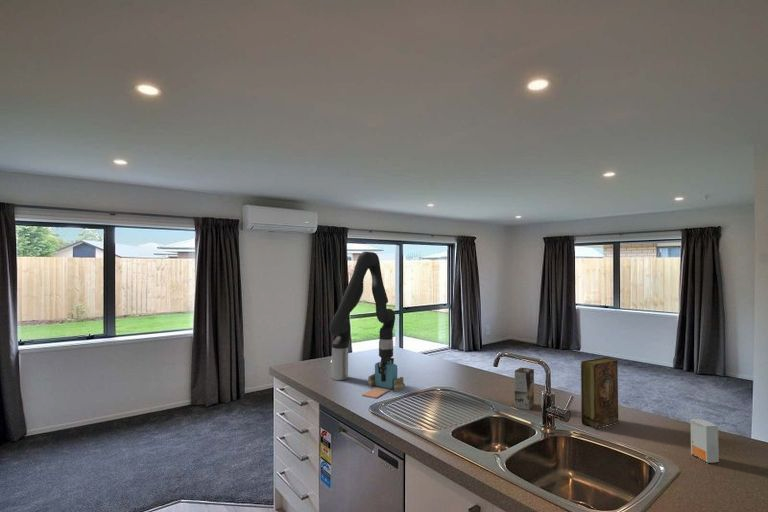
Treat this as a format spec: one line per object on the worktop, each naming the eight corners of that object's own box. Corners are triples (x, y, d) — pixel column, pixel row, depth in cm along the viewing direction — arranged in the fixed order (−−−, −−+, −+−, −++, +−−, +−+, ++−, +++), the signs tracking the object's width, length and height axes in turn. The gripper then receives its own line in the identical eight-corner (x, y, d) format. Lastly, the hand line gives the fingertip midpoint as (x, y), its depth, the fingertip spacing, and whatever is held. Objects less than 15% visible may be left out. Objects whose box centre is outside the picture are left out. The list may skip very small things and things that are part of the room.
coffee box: (529, 410, 167) (528, 373, 168) (514, 407, 171) (514, 370, 171) (534, 404, 174) (534, 368, 175) (520, 401, 178) (519, 366, 179)
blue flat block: (397, 387, 198) (397, 364, 198) (392, 389, 194) (392, 366, 195) (380, 383, 205) (380, 360, 206) (374, 385, 202) (374, 362, 202)
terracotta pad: (361, 395, 185) (361, 394, 185) (375, 388, 197) (375, 387, 197) (376, 398, 181) (376, 397, 181) (389, 390, 193) (389, 389, 193)
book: (607, 417, 159) (606, 357, 160) (620, 422, 154) (619, 359, 155) (581, 424, 152) (580, 361, 152) (594, 430, 147) (593, 364, 148)
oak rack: (368, 386, 200) (368, 376, 201) (377, 381, 209) (377, 372, 209) (396, 391, 192) (396, 381, 193) (404, 386, 201) (404, 376, 201)
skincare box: (690, 455, 127) (689, 418, 127) (702, 454, 127) (701, 418, 128) (707, 464, 121) (706, 426, 121) (719, 464, 121) (718, 425, 122)
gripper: (386, 344, 209) (386, 375, 208) (373, 349, 196) (372, 382, 196) (398, 345, 205) (398, 377, 204) (385, 350, 193) (385, 384, 192)
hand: (385, 379), depth 200 cm, fingers closed on blue flat block, 5 cm apart
